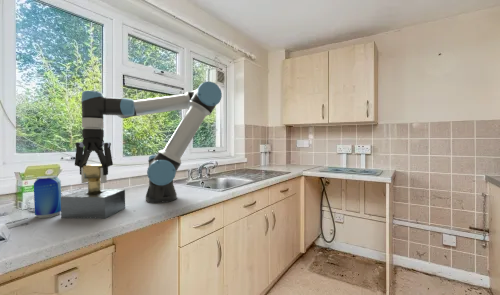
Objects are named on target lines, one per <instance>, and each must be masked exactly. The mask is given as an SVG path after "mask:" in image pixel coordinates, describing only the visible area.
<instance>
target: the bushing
mask: <svg viewBox="0 0 500 295" xmlns="http://www.w3.org/2000/svg"><path fill="white" fill-rule="evenodd" d="M100 168H102V165H101V163H100V164H95V163H94V164H86V165H84V166H83V178H85V179H88V182H87V189H88V195H97V194H100V193H101V189H102V188H101V172H100Z"/></svg>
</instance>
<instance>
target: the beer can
mask: <svg viewBox="0 0 500 295" xmlns="http://www.w3.org/2000/svg"><path fill="white" fill-rule="evenodd" d="M61 182H62V181H61V180H60V179H59V177H58V175H42V176H37V177H36V179H35V181H34V182H33V198H34V199H33V200H34V201H33V202H34V205H33V207H34V215H35V216H36V217H37V218H38V219H45V218H52V217H55V216H58V215H60V214H61V197H62V184H61Z"/></svg>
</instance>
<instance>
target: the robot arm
mask: <svg viewBox="0 0 500 295" xmlns="http://www.w3.org/2000/svg"><path fill="white" fill-rule="evenodd" d="M222 95H223V94H222V90H221V88H220V86H219V85H218V84H217V83H215V82H213V81H204V82H202V83H201V84H199V85H198V87H197V88H196V89H194V90H190V91H186V92H185V93H184V94H175V95H170V96H168V95H167V96H160V97H153V98H145V99H142V98H141V99H137V100H134V99H133V98H126V97H124V98H123V97H107V96H104V93H103V92H101V91H98V90H96V91H95V90H83V91H82V93H81V101H80V103H81V128H82V130H81V131H82V132H81V133H82V134H81V135H82V136H81V137H82V139H83V140H82V141H80V142H78V141H77V142H75V147H76V150H75V156H74V158H75V159H74V166H75V167H76V166H77V167H79V175H81V177H80V178H81V180H80V181H81V184H85V183H88V179H85V178H83V166H84V165H88V161H89V158H90V156H91V153H92V152H94V153H96V155H97V158H98V160H99V162H100V164H101V165H102V168H100V172H101V178H100V184H105V183H107V179H108V178H107V175H109V167H111V166H113V157H112V150H111V145H112V143H111V142H106V141H104V137H105V136H104V135H105V134H104V133H105V132H104V131H105V130H104V116H117V117H118V118H121V119H129V118H130V117H131V118H132V117H139V116H145V115H151V114H152V115H153V114H160V113H165V112H166V113H167V112H172V111H173V112H174V111H179V110H187V111H186V112H185V114H184V116H183V117H182V120H181V121H180V122H179V124H178V126H177V127H176V129H175V131H173V134H172V135H171V137H170V139H169V140H168V142H167V143H166V145H165V147H164V148H163V149H160V150H158V152H157V153H156V154H152V155H149V156H148V159H147V160H148V167H147V170H146V173H147V174H146V175H147V178H148V188H147V190H146V194H145V202H147V203H149V204H151V203H152V204H161V203H167V202H172V201H175V200H176V199H177V196H178V194H177V190H176V188H175V185H174V179H175V177H176V174H177V171H178V170H179V168H180V166H181V164H182V160H181V158H182V156H183V155H184V153H185V151H186V150H187V148H188V147H189V144H190V143H191V142H192V140H193V138H194V137H195V135H196V134H197V131H198V130H199V128H200V127H201V125H202V124H203V122H204V120H205V118H206V117H207V116H210V115H211V114H212V113H213V111H214V109H215V108H216V106H217V105H219V104H220V103H221V101H222V100H221V99H222V97H223V96H222Z"/></svg>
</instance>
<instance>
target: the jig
mask: <svg viewBox="0 0 500 295" xmlns="http://www.w3.org/2000/svg"><path fill="white" fill-rule="evenodd" d="M125 209H126V190H125V189H109V188H108V189H106V188H105V189H104V188H103V189H102V188H101V193H100V194H97V195H88V188H86V189H83V190H79V191H75V192H72V193H69V194H65V195H61V212H60V219H95V220H96V219H101V220H103V219H104V220H105V219H107V218H109V217H111V216H113V215H115V214H116V213H119V212H121V211H122V210H125Z"/></svg>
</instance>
